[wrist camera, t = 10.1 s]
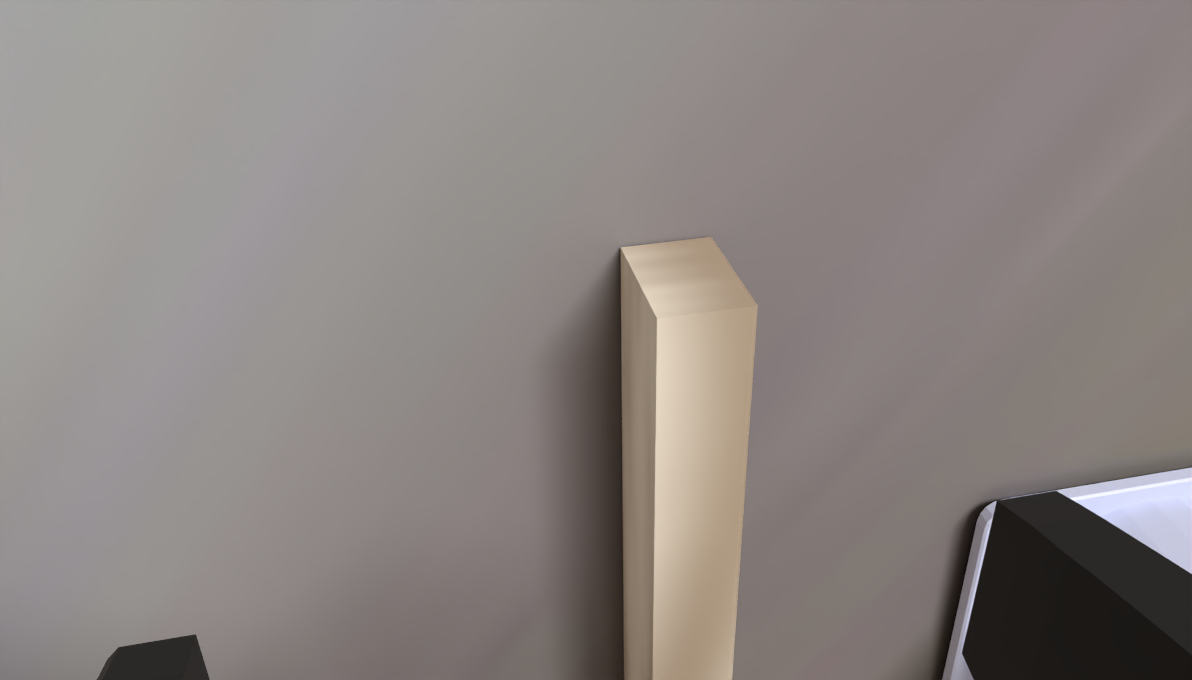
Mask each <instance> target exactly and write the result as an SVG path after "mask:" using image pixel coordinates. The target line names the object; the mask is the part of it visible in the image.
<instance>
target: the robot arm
mask: <svg viewBox="0 0 1192 680" xmlns="http://www.w3.org/2000/svg"><path fill="white" fill-rule="evenodd" d="M97 680H209V676H208V673H207V670H206V666H205V663H204V660H203V657H202V653H201V650H200V647H199V643H198V640H197V637H196V635H190V636H184V637H178V638H172V639H166V640H160V641H154V642H148V643H142V644H136V645H130V646H124V647H118V649H117V650H116V651H115V652H114V653H113V654H112V655H111V656H110V657H109V658H108V660H107V661H106V663H105V665H104V667H103V669H102V671H101V673H100V675H99V677H98V679H97ZM942 680H1192V468H1186V469H1180V470H1174V471H1168V472H1162V473H1156V474H1150V475H1144V476H1138V477H1132V478H1126V479H1120V480H1114V481H1108V482H1102V483H1096V484H1090V485H1085V486H1079V487H1073V488H1067V489H1061V490H1055V491H1049V492H1043V493H1037V494H1031V495H1025V496H1019V497H1013V498H1007V499H1001V500H997V501H995V502H992V503H991V504H989V505H988V506H986V507H985V508H984V509H983V511H982V512H981V513H980V515H979V517H978V520H977V523H976V528H975V532H974V537H973V542H972V546H971V551H970V555H969V560H968V564H967V569H966V574H965V578H964V583H963V587H962V592H961V596H960V601H959V606H958V610H957V615H956V619H955V624H954V628H953V633H952V637H951V642H950V647H949V651H948V656H947V660H946V665H945V669H944V674H943V679H942Z"/></svg>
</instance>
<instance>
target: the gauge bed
mask: <svg viewBox="0 0 1192 680" xmlns="http://www.w3.org/2000/svg"><path fill="white" fill-rule="evenodd" d="M757 308H758V305H757V304H756V302H755V301H754V299H753V298H752V296H751V295H750V293H749V292H748V291H747V289H746V288H745V286H744V285H743V283H742V282H741V280H740V279H739V277H738V276H737V274H736V273H735V271H734V270H733V268H732V267H731V265H730V264H729V262H728V261H727V260H726V258H725V257H724V255H723V254H722V252H721V251H720V249H719V248H718V246H717V245H716V243H715V242H714V240H713V239H712V237H706V238H698V239H689V240H681V241H672V242H664V243H655V244H646V245H638V246H629V247H621V353H622V479H623V605H624V680H732V671H733V656H734V642H735V627H736V613H737V598H738V584H739V569H740V555H741V540H742V526H743V511H744V497H745V482H746V468H747V453H748V439H749V424H750V410H751V395H752V381H753V366H754V352H755V337H756V323H757Z"/></svg>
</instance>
